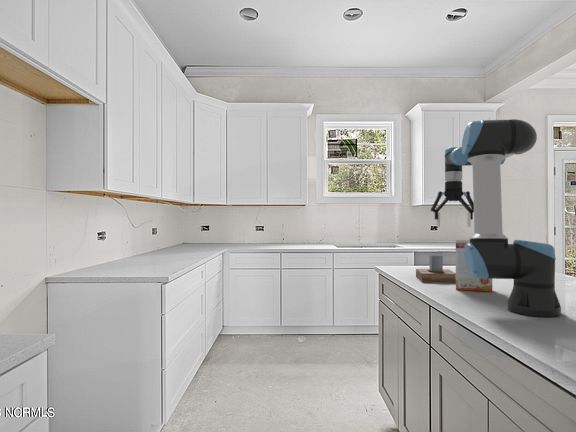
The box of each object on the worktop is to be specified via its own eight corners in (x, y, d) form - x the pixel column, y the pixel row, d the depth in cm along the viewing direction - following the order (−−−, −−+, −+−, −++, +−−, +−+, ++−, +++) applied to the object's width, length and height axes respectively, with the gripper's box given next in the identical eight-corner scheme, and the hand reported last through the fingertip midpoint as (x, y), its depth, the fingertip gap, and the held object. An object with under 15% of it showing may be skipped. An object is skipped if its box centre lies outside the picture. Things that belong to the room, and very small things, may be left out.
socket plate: (457, 283, 186) (457, 274, 186) (421, 282, 188) (421, 273, 188) (448, 277, 202) (448, 269, 202) (415, 276, 204) (415, 268, 204)
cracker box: (491, 289, 170) (491, 240, 170) (492, 292, 165) (492, 241, 164) (455, 287, 176) (455, 239, 175) (455, 289, 170) (455, 240, 170)
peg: (442, 280, 193) (442, 255, 192) (431, 280, 193) (431, 255, 193) (440, 279, 197) (440, 254, 197) (429, 278, 198) (429, 254, 198)
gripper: (478, 181, 190) (478, 226, 190) (424, 182, 193) (424, 226, 193) (484, 180, 183) (484, 227, 183) (427, 180, 186) (427, 226, 186)
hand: (453, 226), depth 188 cm, fingers open, 13 cm apart
